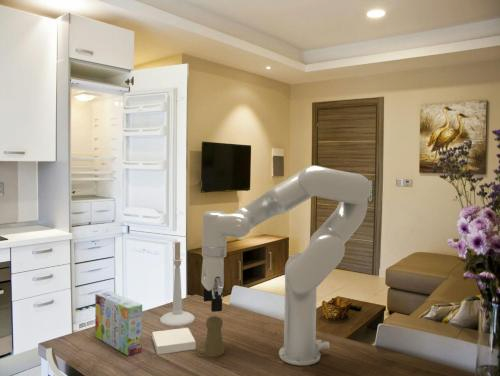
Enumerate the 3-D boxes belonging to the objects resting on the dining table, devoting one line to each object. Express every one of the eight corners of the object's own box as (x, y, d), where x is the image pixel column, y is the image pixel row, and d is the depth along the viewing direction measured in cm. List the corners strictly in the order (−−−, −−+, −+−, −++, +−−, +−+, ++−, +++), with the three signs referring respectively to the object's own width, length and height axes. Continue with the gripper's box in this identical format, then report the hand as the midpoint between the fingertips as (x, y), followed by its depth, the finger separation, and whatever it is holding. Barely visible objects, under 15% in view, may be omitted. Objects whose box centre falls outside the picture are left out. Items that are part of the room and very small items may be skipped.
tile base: (188, 334, 145) (188, 327, 145) (195, 349, 133) (195, 341, 133) (152, 339, 141) (152, 331, 141) (157, 354, 129) (157, 346, 129)
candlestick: (199, 315, 163) (199, 238, 162) (187, 327, 151) (187, 244, 149) (168, 312, 166) (168, 237, 165) (154, 324, 154) (153, 242, 152)
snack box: (143, 351, 132) (143, 303, 131) (127, 357, 128) (127, 308, 127) (109, 332, 146) (109, 289, 145) (94, 337, 142) (93, 293, 141)
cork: (220, 357, 128) (221, 322, 127) (201, 355, 129) (202, 320, 128) (226, 349, 134) (226, 315, 133) (207, 347, 135) (207, 313, 134)
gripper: (196, 246, 137) (194, 298, 138) (209, 257, 120) (207, 316, 121) (218, 245, 139) (216, 296, 140) (234, 256, 123) (232, 314, 124)
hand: (212, 305), depth 131 cm, fingers open, 9 cm apart
